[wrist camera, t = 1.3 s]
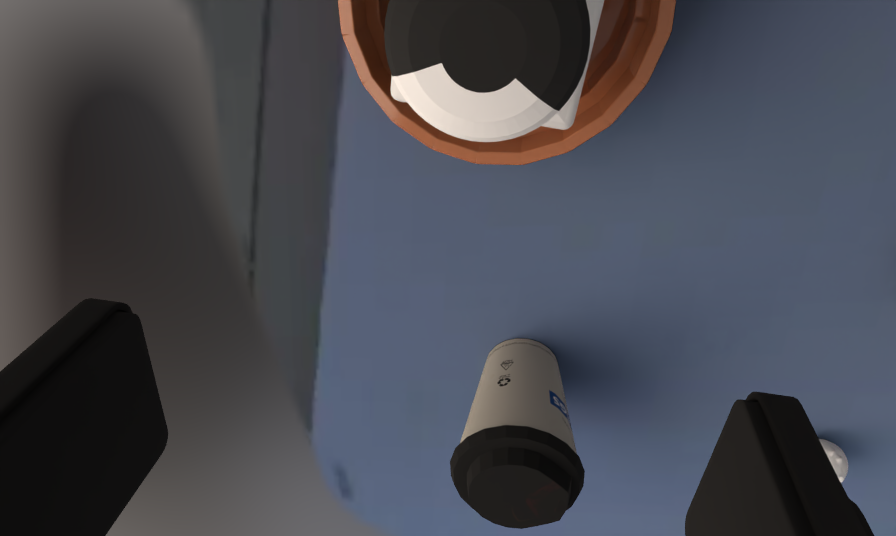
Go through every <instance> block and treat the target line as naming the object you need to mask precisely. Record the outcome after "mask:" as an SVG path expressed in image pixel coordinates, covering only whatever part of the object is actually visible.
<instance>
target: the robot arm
mask: <svg viewBox="0 0 896 536" xmlns="http://www.w3.org/2000/svg"><path fill="white" fill-rule="evenodd" d="M167 439H168V429H167V425H166V421H165V417H164V413H163V409H162V405H161V401H160V397H159V393H158V389H157V385H156V381H155V377H154V373H153V369H152V365H151V361H150V357H149V354H148V349H147V345H146V341H145V337H144V333H143V329H142V325H141V322H140V319H139V317H138V316H137V315H136V314H133V313H132V311H131V308H130V307H129V306H128V305H127V304H124V303H120V302H114V301H107V300H100V299H92V298H90V299H85V300H83V301H82V302H80V303H79V304H78V305H77V306H75V307H74V308H73V309H72V310H71V311H70V312H68V313H67V314H66V315H65V316H64V317H63V318H62V319H60V320H59V321H58V322H57V323H56V324H55V325H53V326H52V327H51V328H50V329H49V330H48V331H47V332H45V333H44V334H43V335H42V336H41V337H40V338H39V339H37V340H36V341H35V342H34V343H33V344H32V345H31V346H29V347H28V348H27V349H26V350H25V351H23V352H22V353H21V354H20V355H19V356H18V357H17V358H16V359H14V360H13V361H12V362H11V363H10V364H8V365H7V366H6V367H5V368H4V369H3V370H2V371H1V372H0V536H105V535H106V534H107V532H108V531H109V529H110V528H111V527H112V525H113V524H114V522H115V521H116V519H117V518H118V516H119V515H120V514H121V512H122V511H123V509H124V508H125V506H126V505H127V504H128V502H129V501H130V499H131V497H132V496H133V495H134V493H135V492H136V490H137V489H138V487H139V486H140V485H141V483H142V482H143V480H144V479H145V477H146V476H147V474H148V473H149V472H150V470H151V469H152V467H153V466H154V464H155V463H156V462H157V460H158V459H159V457H160V455H161V454H162V453H163V451H164V449H165V446H166V443H167ZM685 535H686V536H874V534H873V532H872V531H871V529H870V527H869V525H868V523H867V521H866V519H865V517H864V515H863V514H862V512H861V511H860V509H859V508H858V506H857V505H856V504H855V503H854V502H853V501H851V500H850V499H849V498H848V496H847V494H846V492H845V490H844V488H843V486H842V484H841V482H840V480H839V478H838V476H837V474H836V472H835V470H834V468H833V466H832V464H831V462H830V460H829V458H828V456H827V454H826V452H825V450H824V448H823V446H822V445H821V443H820V441H819V439H818V437H817V435H816V433H815V431H814V429H813V427H812V425H811V423H810V421H809V419H808V417H807V415H806V413H805V411H804V409H803V407H802V405H801V403H800V402H799V400H798V399H796V398H794V397H790V396H782V395H775V394H768V393H761V392H752V393H751V394H749V395H748V397H747V399H746V400H737V401H736V402H735V403H734V405H733V407H732V409H731V411H730V414H729V416H728V418H727V421H726V423H725V425H724V428H723V430H722V432H721V435H720V437H719V439H718V442H717V444H716V446H715V449H714V451H713V453H712V456H711V458H710V460H709V463H708V465H707V467H706V470H705V472H704V474H703V477H702V479H701V481H700V484H699V486H698V488H697V491H696V493H695V495H694V498H693V500H692V502H691V505H690V507H689V509H688V512H687V515H686V521H685Z"/></svg>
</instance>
